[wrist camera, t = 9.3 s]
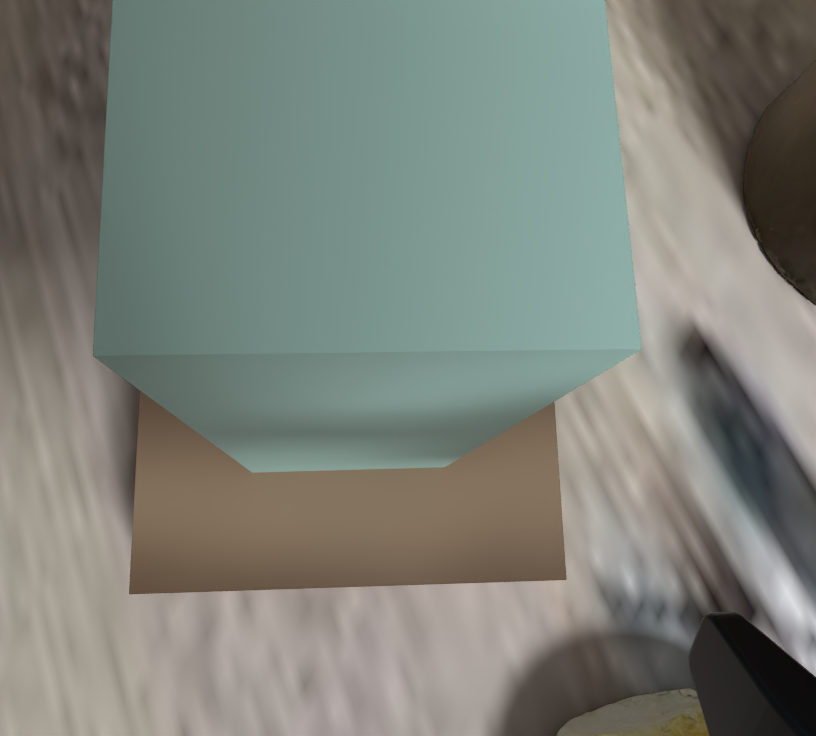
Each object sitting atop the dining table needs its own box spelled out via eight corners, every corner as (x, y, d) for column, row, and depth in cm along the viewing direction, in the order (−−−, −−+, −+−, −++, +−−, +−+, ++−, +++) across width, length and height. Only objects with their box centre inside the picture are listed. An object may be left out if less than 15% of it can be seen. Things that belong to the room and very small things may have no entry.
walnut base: (536, 573, 22) (566, 579, 19) (157, 585, 21) (129, 594, 18) (515, 228, 25) (539, 188, 22) (173, 223, 24) (150, 180, 21)
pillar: (444, 466, 20) (641, 348, 7) (252, 472, 19) (91, 355, 7) (436, 286, 21) (594, -98, 8) (253, 286, 20) (119, -123, 8)
